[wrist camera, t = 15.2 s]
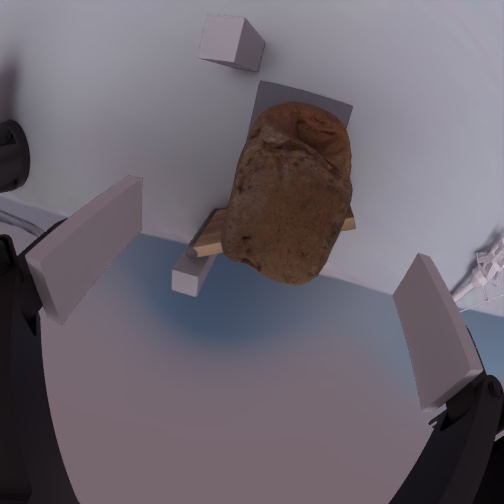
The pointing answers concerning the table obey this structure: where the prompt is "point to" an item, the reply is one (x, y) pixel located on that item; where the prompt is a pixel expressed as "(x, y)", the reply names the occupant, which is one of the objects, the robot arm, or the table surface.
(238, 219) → the brown oblong lump
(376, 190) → the table surface
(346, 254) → the table surface
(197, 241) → the door
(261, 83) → the mat
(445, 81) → the table surface
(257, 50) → the door frame
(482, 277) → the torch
